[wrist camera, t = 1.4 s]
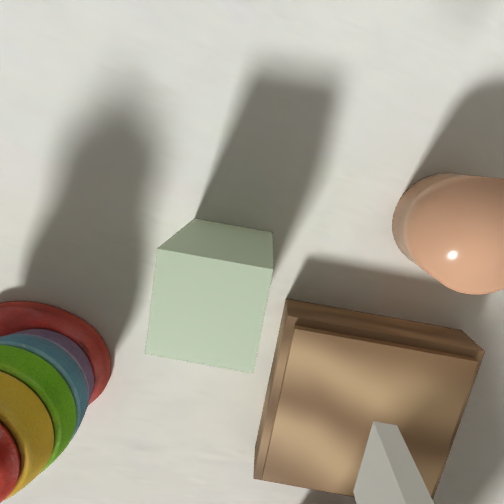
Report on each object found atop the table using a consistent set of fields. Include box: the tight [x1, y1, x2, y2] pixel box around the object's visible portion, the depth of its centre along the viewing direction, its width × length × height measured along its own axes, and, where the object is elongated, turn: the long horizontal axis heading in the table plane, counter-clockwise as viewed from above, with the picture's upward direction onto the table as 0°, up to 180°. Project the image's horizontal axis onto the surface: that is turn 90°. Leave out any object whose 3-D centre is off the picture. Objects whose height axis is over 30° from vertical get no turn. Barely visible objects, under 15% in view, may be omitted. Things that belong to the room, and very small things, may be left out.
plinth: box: [253, 299, 485, 500], centre depth 30 cm, size 14×14×4 cm
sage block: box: [145, 218, 273, 373], centre depth 25 cm, size 6×6×10 cm
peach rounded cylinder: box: [392, 173, 504, 295], centre depth 26 cm, size 7×7×6 cm
